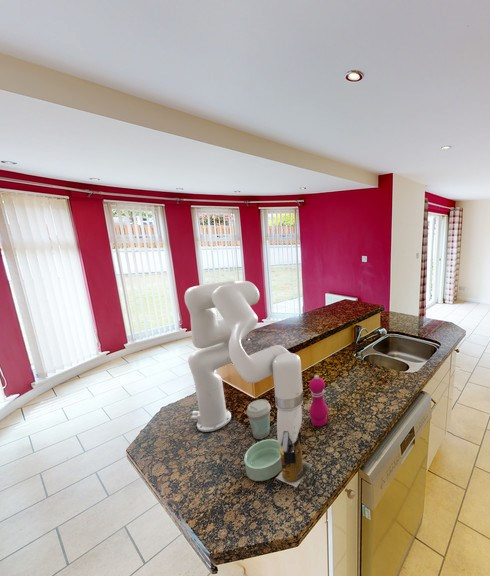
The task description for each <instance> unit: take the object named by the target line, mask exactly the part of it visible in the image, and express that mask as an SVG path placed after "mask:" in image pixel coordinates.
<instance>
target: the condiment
mask: <svg viewBox="0 0 490 576" xmlns="http://www.w3.org/2000/svg"><path fill="white" fill-rule="evenodd" d="M289 440H290V438H289ZM299 440H300V439H299V437H298V436H297V439H296V441H295V442H294V450H295V452H296V463H295V464H288V463H284V453H283V452H282V446H283V441H282V443H281V449H280V454H281V466H282V470H281V471H280V472H279V473H278V474H277V476H276V479H277V480H279V481H281V482H283V483H285V484H287V485H290V486H293V487H295V488H297V487H298V486H299V485H300V484H301V482H302V481H303V479H304V478H305V477H306V475H307V473H308V472H309V471H310V469H311V468H312V466H313V464H314V463H310V462H307V461H305V460H303V451H302V443H301V444H300V441H299ZM288 447H290V448H291V443H288Z"/></svg>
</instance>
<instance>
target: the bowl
mask: <svg viewBox="0 0 490 576" xmlns="http://www.w3.org/2000/svg"><path fill="white" fill-rule="evenodd" d="M280 449H281V443H280V444H279V443H278V439H274V438H268V439H262V440H260V441H258V442H255V443H254V444H253V445H251V446H250V447H249V448H248V449H247V450H246V452H245V454H244V456H243V462H244V470H245V474H246V476H247V477H248V478H249V479H250V480H252V481H255V482H263V481H267V480H270V479H272V478H274V477H276V476H278V475H279V474H280V473H281V472H282V466H281V454H280Z"/></svg>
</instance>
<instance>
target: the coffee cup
mask: <svg viewBox="0 0 490 576" xmlns="http://www.w3.org/2000/svg"><path fill="white" fill-rule="evenodd" d="M271 407H272V406H271V404H270V403H269V401H268V400H266V399H255V400H254V401H252V402H250V403H249V404H248V405H247V408H246V416H247V417H248V421H249V425H250V429H251V433H252V437H253V438H254V439H255V440H261V439H262V440H263V439H265V438H266V437H268V436H269V434H270V425H271V424H270V423H271V422H270V421H271V420H270V419H271V409H272V408H271Z"/></svg>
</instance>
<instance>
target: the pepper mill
mask: <svg viewBox="0 0 490 576" xmlns="http://www.w3.org/2000/svg"><path fill="white" fill-rule="evenodd" d="M325 386H326V383H325V381H324V379H323V378H321V377H320V376H319V375H318V374H315V375H314V377H313V378H312V379H311V380H310V381H309V385H308V387H309V389H310V395H311V396H312V403H311V404H310V407H309V416H310V420H311V421H310V422H311V425H312V426H314V427H322V426H324V425H326V424H327V422H328V414H329V409H328V406H327V405H328V404H327V403H326V402H325V400H324V395H325Z"/></svg>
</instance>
